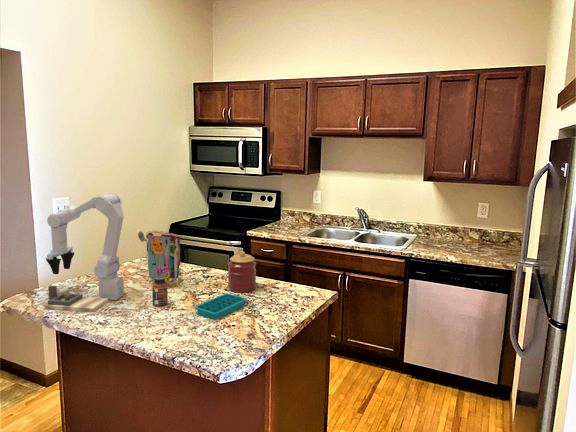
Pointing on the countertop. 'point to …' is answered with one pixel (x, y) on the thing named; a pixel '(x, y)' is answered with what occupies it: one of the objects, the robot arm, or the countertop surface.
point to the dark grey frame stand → (61, 297)
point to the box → (163, 255)
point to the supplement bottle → (159, 292)
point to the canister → (242, 273)
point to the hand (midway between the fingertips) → (61, 271)
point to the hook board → (80, 304)
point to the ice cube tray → (220, 305)
